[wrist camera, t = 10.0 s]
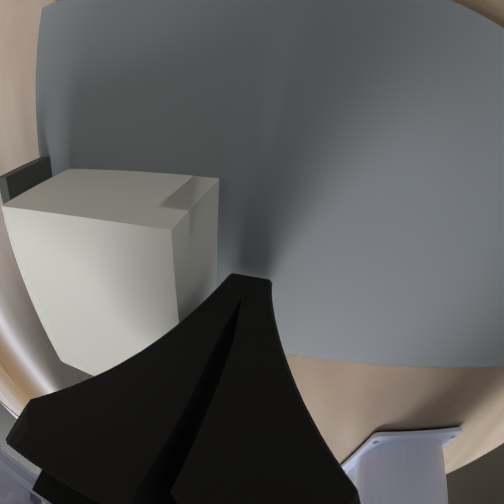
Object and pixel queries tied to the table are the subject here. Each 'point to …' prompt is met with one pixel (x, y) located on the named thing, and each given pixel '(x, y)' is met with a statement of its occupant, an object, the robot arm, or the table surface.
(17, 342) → the table surface
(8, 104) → the table surface
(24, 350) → the table surface
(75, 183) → the block
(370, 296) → the base plate
